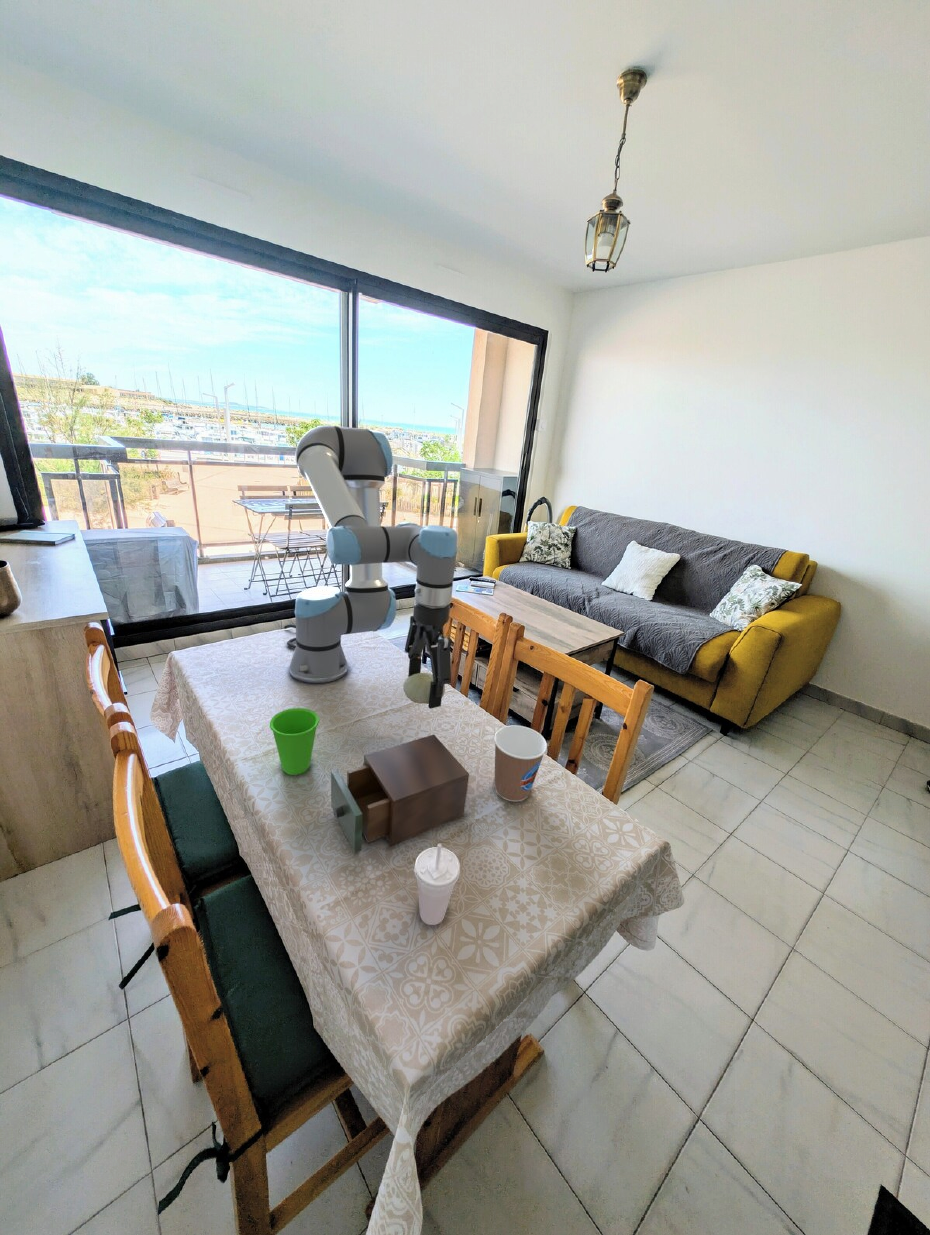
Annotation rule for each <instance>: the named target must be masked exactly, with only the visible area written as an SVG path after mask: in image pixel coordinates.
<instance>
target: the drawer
mask: <svg viewBox="0 0 930 1235" xmlns="http://www.w3.org/2000/svg"><path fill="white" fill-rule="evenodd" d="M330 796H331V797H330V806H331V809H332V811H333V814H334V818H336V820H337V821H338V824H339V826H340V827H341V830H342V832H343V834H344V835H345V838H346V840H347V841H348V844H349V846H350V848H351V850H352V852H353V854H357V853H358V854H359V853H360V852H362V844H363V843H362V842H363V841H362V840H363V836H364V838H365V840H366V842H367V843H370V842H372V841H375V840H377V839H380V838H383V837H385V835H388V834H389V830H390V814H391V801H390V799H389V797H388V796H387V794H386V793H385V791H384V790H383V788H382V787H381V785H380V783H379V782H378V780H377V779H376V777H375V776H374V774H373V773H372V771H371V769H370V768H369V766H368V765H365V766H363V765H361V766H359V767H358V766H357V767H355V768H352V769H348V770H347V771H346V782H345V780H344V778H343V776H342V774H341V773H340V771H339V769H338V768H337V769H333V770H331V772H330Z"/></svg>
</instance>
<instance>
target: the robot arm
mask: <svg viewBox="0 0 930 1235" xmlns="http://www.w3.org/2000/svg"><path fill="white" fill-rule="evenodd" d="M386 436H387V435H385V434H384V433H383V432H381V431H380V430H379V431H378V430H373V429H369V428H358V427H350V426H349V427H348V426H337V425H332V424H331V425H330V424H325V425H318V426H315V427H313V428H311V429H310V430H308V431H307V432H305V433H304V434H303V435H302V436H301V438H300V439H299V441H298V443H297V445H296V448H295V456H294V457H295V459H294V460H295V464H296V466H297V469H298V472H299V474H300V475H301V476H302V477H303V478H304V479H305V480H307V481H308V483H309V485H310V487H311V489H312V493H313V494H314V496H315V498H316V501H317V503H318V505H319V507H320V509H321V511H322V514H323V516H324V518H325V520H326V522H327V525H328V527H329V529H327V531H326V535H325V536H326V537H325V546H326V551H327V556H328V559H329V561H330V562H331V563H332V564H334V565H348V566H350V578H349V580H348V581H347V582H346V583H345V591H341V589H340V588H339V587H336V586H332V585H330V586H328V585H321V586H320V585H319V586H314V587H310V588H307V589H305V590H303V591H301V592H300V593H298V595H297V596H296V598H295V606H294V615H295V624H291V623H289V624H288V623H287V624H286V625H284V626H283V629H284V630H285V629H288V628H293V629H295V637H293V638H291V639H288V640H287V642H286V646H287V647H288V648H292V649H294V652H293V654H292V657H291V659H290V664H289V673H290V675H291V676H292V678H294V679H295V680H297V681H300V682H303V683H307V684H326V683H330V682H334V681H337V680H339V679H341V678H342V677H344V676H345V675H346V674H347V672H348V662H347V658H346V655H345V652H344V650H343V647H342V636H344V635H352V634H360V633H367V632H377V631H382V630H386V629H389V628H390V627H391V626H392V625H393V623H394V621H395V618H396V615H397V606H398V604H397V599H396V593H395V592H394V590H393V589H392V588H389V583H388V582H387V581H386V580H385V579H384V578H383V564H388V563H389V564H390V563H411V564H413V565H414V566H416V575H415V576H416V578H415V589H414V591H413V592H414V603H413V614H412V615H411V616H410V617H409V627H408V632H407V636H406V641H405V646H404V652H405V653H406V654H407V657H408V659H409V661H408V675H407V678H408V677H410V676H412V675H414V674H418V673H422V671H421V670H422V662H423V661H422V657H423V654H422V652H423V651H424V649H425V647H426V652H428V654H429V660H430V668H431V674H432V675H433V681H431V685H430V695H429V704H427V705H428V706H427V707H428V709H429V710H432V709H436V708H439V707H441V706H442V699H443V697H442V695H443V687H444V685H448V684H451V683H452V668H451V667H452V664H451V662H452V660H451V646H452V642H453V641H452V638H451V637H446V636H445V632H444V626H445V625H446V624H447V623H448V622H449V621H450V613H451V605H450V604H451V603H452V597H453V586H454V585H453V584H454V583H453V582H454V578H455V577H454V576H455V568H456V562H457V561H456V560H457V555H458V554H457V553H458V533H457V531H456V530H455V529H454V528H452V527H446V526H445V525H437V524H430V525H429V524H427V525H424V526H421V525H420V524H417V523H414V522H410V521H403V522H401V523H398V524H397V525H395V526H394V525H386V526H383V525H381V499H380V498H381V496H380V495H381V494H380V489H381V488H382V487H383V486H384V485H385V483H386V478H387V477H389V476H390V475H391V474H392V470H393V468H392V467H393V464H394V460H393V452H392V446H391V444H390V441H389V440H388V438H387V437H386ZM293 642H295V644H292V643H293ZM443 696H444V695H443Z"/></svg>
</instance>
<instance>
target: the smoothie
mask: <svg viewBox="0 0 930 1235" xmlns="http://www.w3.org/2000/svg"><path fill="white" fill-rule="evenodd" d="M442 846H443V844H442V843H438V844H437V846H433V847H429V848H426V849H425V850H423V851H421V852H420V853H419V854H418V856H417V857H416V859H415V864H414V876H415V878H416V881H417V894H418V896H417V897H418V909H419V917H420V919H421V920H422V922H423V923H425V924H426V925H428V926H429V925H430V926H436V925H439V924H441V922H442V921H443V920H444V918H445V915H446V912H447V909H448V906H449V903H450V899H451V897H452V893H453V890H454V887H455V884H456V883H457V881H458V880H459V878H460V872H461V864H460V860H459V858H458V857H457V855H456V854H455V853H454V852H452V851H451V850H449V849H448V848H446V847H442Z"/></svg>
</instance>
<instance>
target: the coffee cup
mask: <svg viewBox="0 0 930 1235" xmlns="http://www.w3.org/2000/svg"><path fill="white" fill-rule="evenodd" d="M493 740H494V780H493V782H494V789H495V791H496V794H497V795H498V796H499V797H500V798H502V799H503V800H506V801H509V802H514V803H515V802H522V801H524V800H525V799H527V798H528V797H529V794H530V792H531V791H532V789H533V788H532V787H533V786H534V783H535V780H536V777H537V775H538V771H539V769H540V766H541V764H542V761H543V757H544V754H546V753H547V751H548V750H547V749H548V743H547V740H546V739H545V738H544V736H543V735H542V734H541V733H540V732H538V731H537V730H535V729H532V728H530V727H527V726H523V725H517V724H515V725H513V724H512V725H506V726H503V727H501V728H499V729H497V731H496V732H495V733H494V736H493Z"/></svg>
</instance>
